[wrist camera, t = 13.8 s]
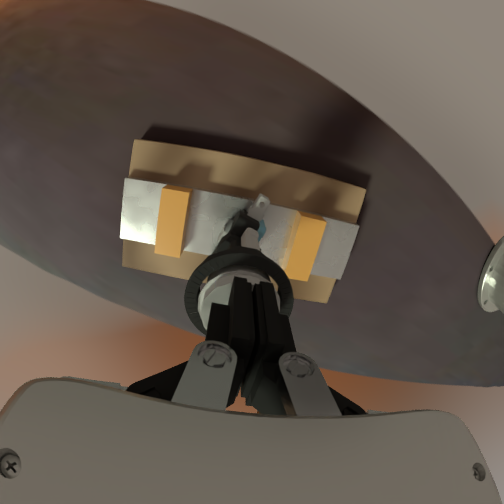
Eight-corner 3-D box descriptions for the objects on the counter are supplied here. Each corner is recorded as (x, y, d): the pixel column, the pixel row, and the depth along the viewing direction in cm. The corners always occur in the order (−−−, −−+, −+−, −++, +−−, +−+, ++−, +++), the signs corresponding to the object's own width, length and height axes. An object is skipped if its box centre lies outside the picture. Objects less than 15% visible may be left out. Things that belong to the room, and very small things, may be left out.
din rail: (356, 223, 22) (359, 226, 22) (337, 275, 24) (340, 279, 24) (128, 176, 20) (125, 177, 19) (123, 234, 22) (120, 237, 21)
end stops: (321, 216, 21) (326, 221, 20) (303, 272, 23) (307, 281, 22) (167, 184, 20) (161, 188, 18) (159, 245, 22) (154, 253, 20)
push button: (233, 177, 20) (229, 212, 11) (294, 212, 21) (337, 272, 12) (192, 251, 22) (164, 331, 13) (250, 280, 23) (259, 369, 14)
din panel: (359, 186, 23) (366, 189, 21) (322, 294, 27) (326, 303, 25) (140, 139, 20) (134, 139, 19) (128, 259, 24) (122, 265, 23)
